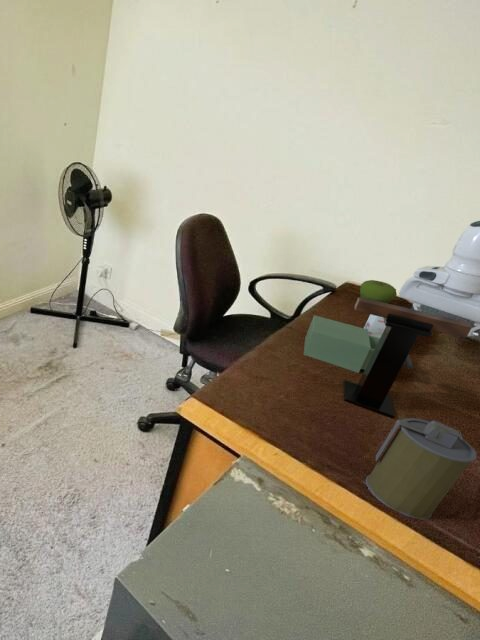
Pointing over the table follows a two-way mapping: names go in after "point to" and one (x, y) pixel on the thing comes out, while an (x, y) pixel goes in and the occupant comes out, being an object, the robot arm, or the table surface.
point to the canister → (419, 466)
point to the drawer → (373, 345)
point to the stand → (385, 365)
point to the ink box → (375, 326)
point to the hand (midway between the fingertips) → (441, 326)
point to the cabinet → (337, 343)
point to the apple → (377, 291)
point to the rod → (414, 316)
